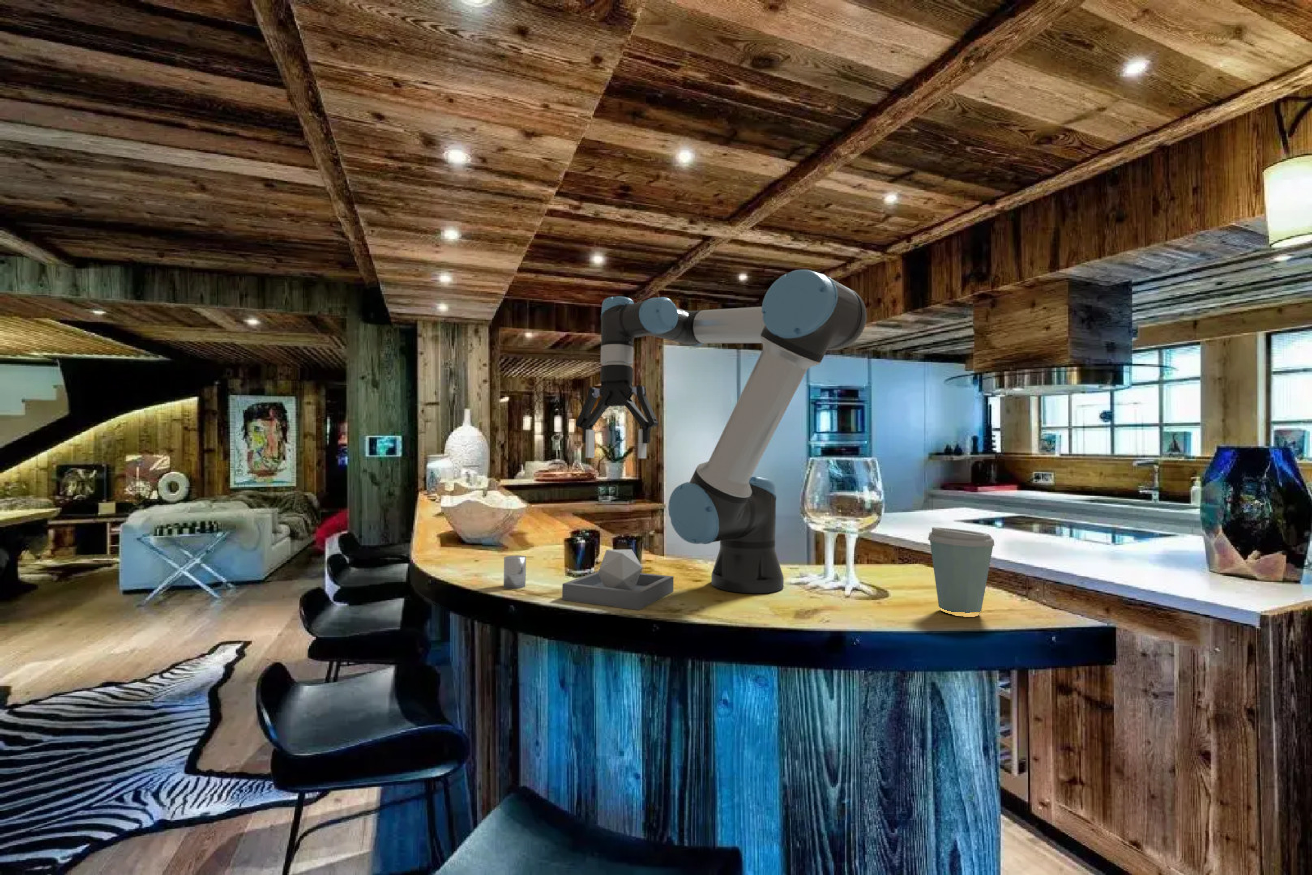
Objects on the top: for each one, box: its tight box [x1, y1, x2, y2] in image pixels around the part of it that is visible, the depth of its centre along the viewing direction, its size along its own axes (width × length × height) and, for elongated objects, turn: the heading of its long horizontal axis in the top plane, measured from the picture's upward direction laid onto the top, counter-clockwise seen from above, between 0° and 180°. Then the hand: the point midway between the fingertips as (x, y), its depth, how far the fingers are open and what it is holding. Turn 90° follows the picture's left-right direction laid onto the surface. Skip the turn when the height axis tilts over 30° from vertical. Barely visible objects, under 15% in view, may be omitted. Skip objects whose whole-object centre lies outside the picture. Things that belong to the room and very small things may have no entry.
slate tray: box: [561, 571, 674, 611], centre depth 112 cm, size 16×16×3 cm
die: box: [597, 548, 643, 591], centre depth 112 cm, size 8×9×10 cm
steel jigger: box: [503, 554, 527, 590], centre depth 119 cm, size 4×4×6 cm
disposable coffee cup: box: [927, 526, 995, 613], centre depth 102 cm, size 11×11×15 cm
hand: (615, 458), depth 132 cm, fingers open, 13 cm apart
